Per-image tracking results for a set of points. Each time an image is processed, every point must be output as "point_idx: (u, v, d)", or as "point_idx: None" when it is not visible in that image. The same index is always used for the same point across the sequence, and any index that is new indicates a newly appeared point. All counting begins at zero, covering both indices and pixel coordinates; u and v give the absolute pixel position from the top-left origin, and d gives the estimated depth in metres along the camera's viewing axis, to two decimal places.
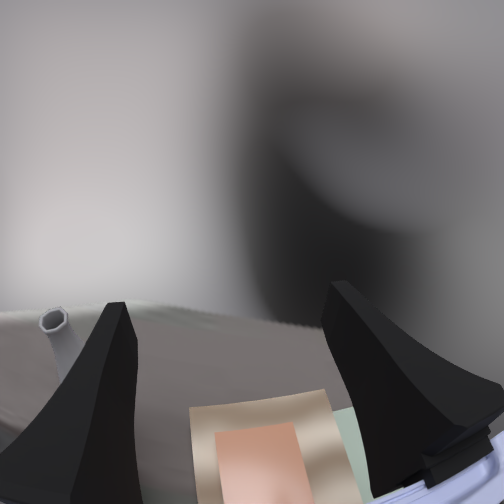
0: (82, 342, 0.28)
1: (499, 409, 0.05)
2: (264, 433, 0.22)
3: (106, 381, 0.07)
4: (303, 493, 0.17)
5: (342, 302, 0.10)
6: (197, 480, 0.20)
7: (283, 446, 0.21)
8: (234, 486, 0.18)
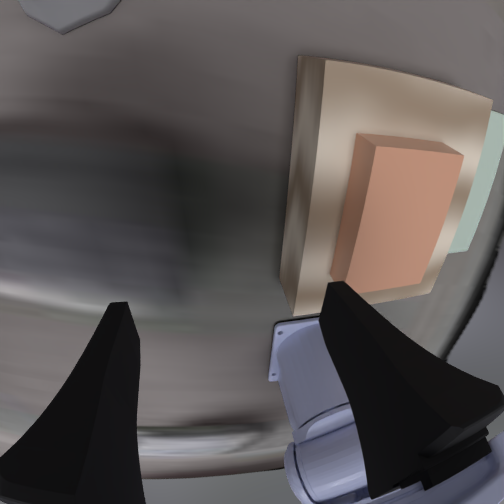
0: None
1: (497, 410, 0.05)
2: (433, 163, 0.14)
3: (109, 381, 0.07)
4: (428, 248, 0.18)
5: (339, 302, 0.10)
6: (314, 194, 0.16)
7: (441, 187, 0.15)
8: (372, 232, 0.16)
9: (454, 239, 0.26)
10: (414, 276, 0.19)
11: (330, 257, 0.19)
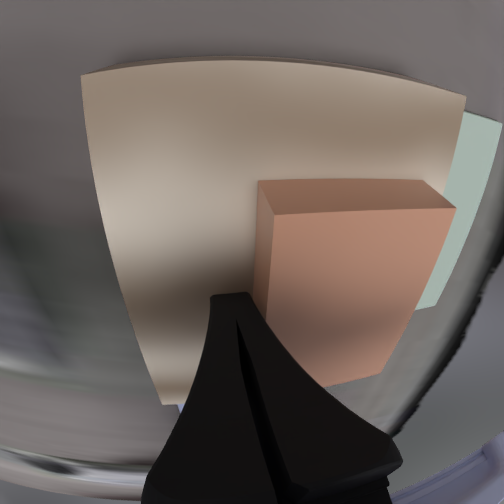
0: None
1: (373, 471, 0.04)
2: (397, 228, 0.09)
3: None
4: (390, 338, 0.12)
5: None
6: (122, 283, 0.11)
7: (413, 261, 0.10)
8: (290, 336, 0.11)
9: None
10: (370, 369, 0.13)
11: (183, 353, 0.13)
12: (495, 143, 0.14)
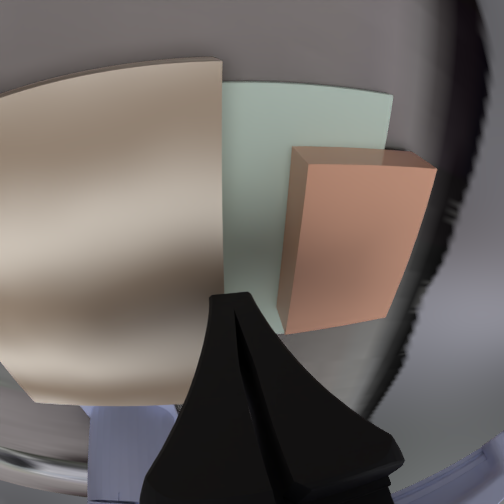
0: None
1: (375, 470, 0.04)
2: None
3: None
4: None
5: (234, 316, 0.10)
6: None
7: None
8: None
9: None
10: None
11: (21, 356, 0.12)
12: (384, 122, 0.12)
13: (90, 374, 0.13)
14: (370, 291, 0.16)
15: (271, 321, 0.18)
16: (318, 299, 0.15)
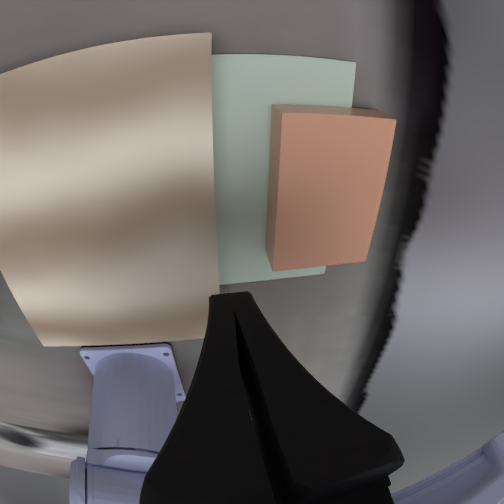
0: None
1: (374, 470, 0.04)
2: None
3: None
4: None
5: (234, 316, 0.10)
6: None
7: None
8: None
9: None
10: None
11: (36, 290, 0.15)
12: (349, 85, 0.15)
13: (98, 305, 0.16)
14: (347, 232, 0.18)
15: (261, 266, 0.21)
16: (300, 236, 0.18)
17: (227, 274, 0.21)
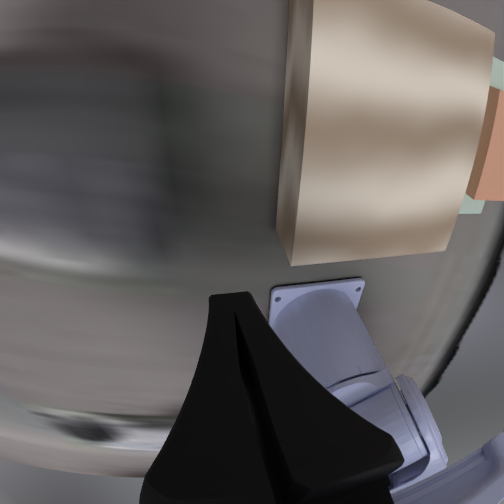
0: None
1: (375, 470, 0.04)
2: None
3: None
4: None
5: (234, 316, 0.10)
6: (310, 107, 0.14)
7: None
8: None
9: (467, 197, 0.23)
10: None
11: (332, 189, 0.16)
12: None
13: (383, 210, 0.18)
14: None
15: None
16: (492, 174, 0.19)
17: None
